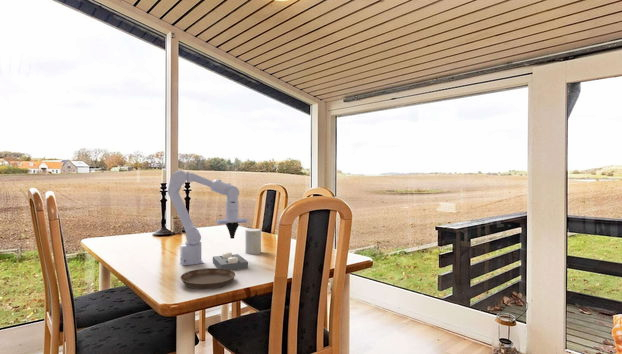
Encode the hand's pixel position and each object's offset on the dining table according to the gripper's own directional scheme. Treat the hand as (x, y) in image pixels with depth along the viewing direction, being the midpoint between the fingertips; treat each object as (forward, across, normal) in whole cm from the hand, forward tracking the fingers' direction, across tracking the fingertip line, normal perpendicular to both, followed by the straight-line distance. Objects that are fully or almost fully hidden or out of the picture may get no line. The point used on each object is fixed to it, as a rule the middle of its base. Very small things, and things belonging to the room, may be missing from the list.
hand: (232, 238), depth 181 cm
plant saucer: (+11, -18, -32) cm, 38 cm away
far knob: (+10, -4, -6) cm, 12 cm away
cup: (+11, +14, +10) cm, 20 cm away
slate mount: (+10, -4, -11) cm, 16 cm away
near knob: (+10, -4, -16) cm, 19 cm away
